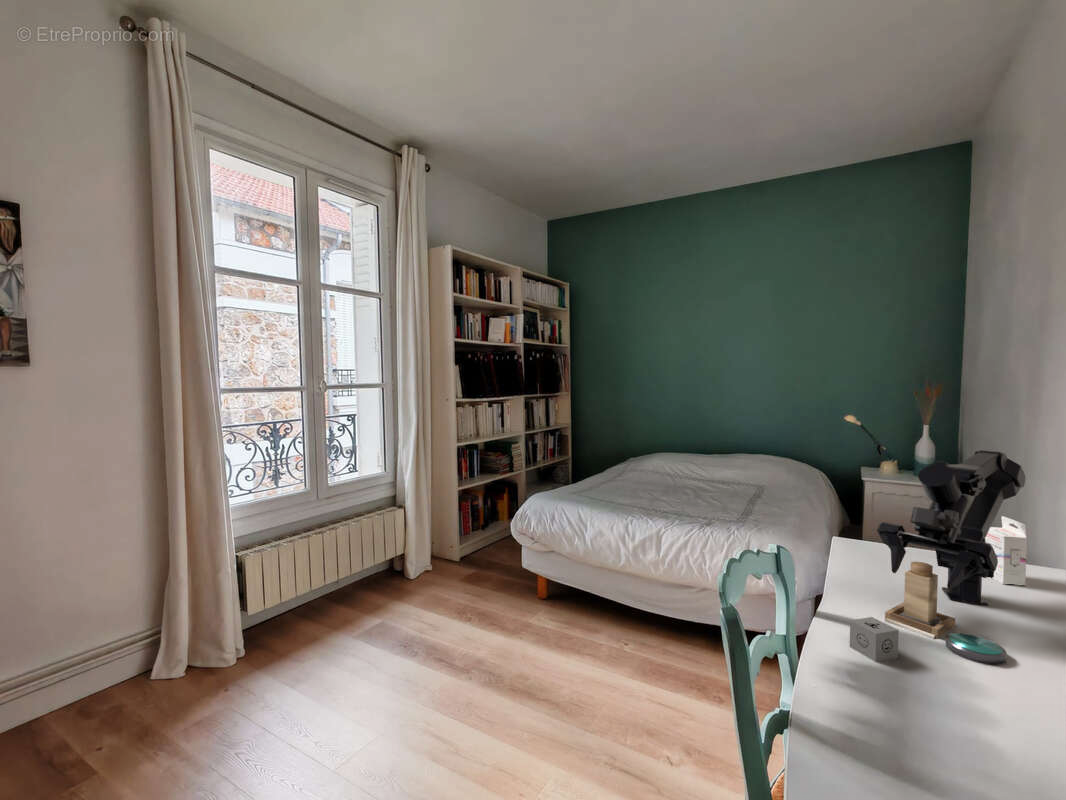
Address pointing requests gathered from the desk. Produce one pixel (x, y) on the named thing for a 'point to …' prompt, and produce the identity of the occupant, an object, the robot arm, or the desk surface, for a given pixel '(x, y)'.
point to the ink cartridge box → (1009, 551)
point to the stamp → (921, 594)
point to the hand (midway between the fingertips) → (919, 579)
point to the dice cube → (874, 639)
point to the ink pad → (976, 648)
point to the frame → (924, 629)
